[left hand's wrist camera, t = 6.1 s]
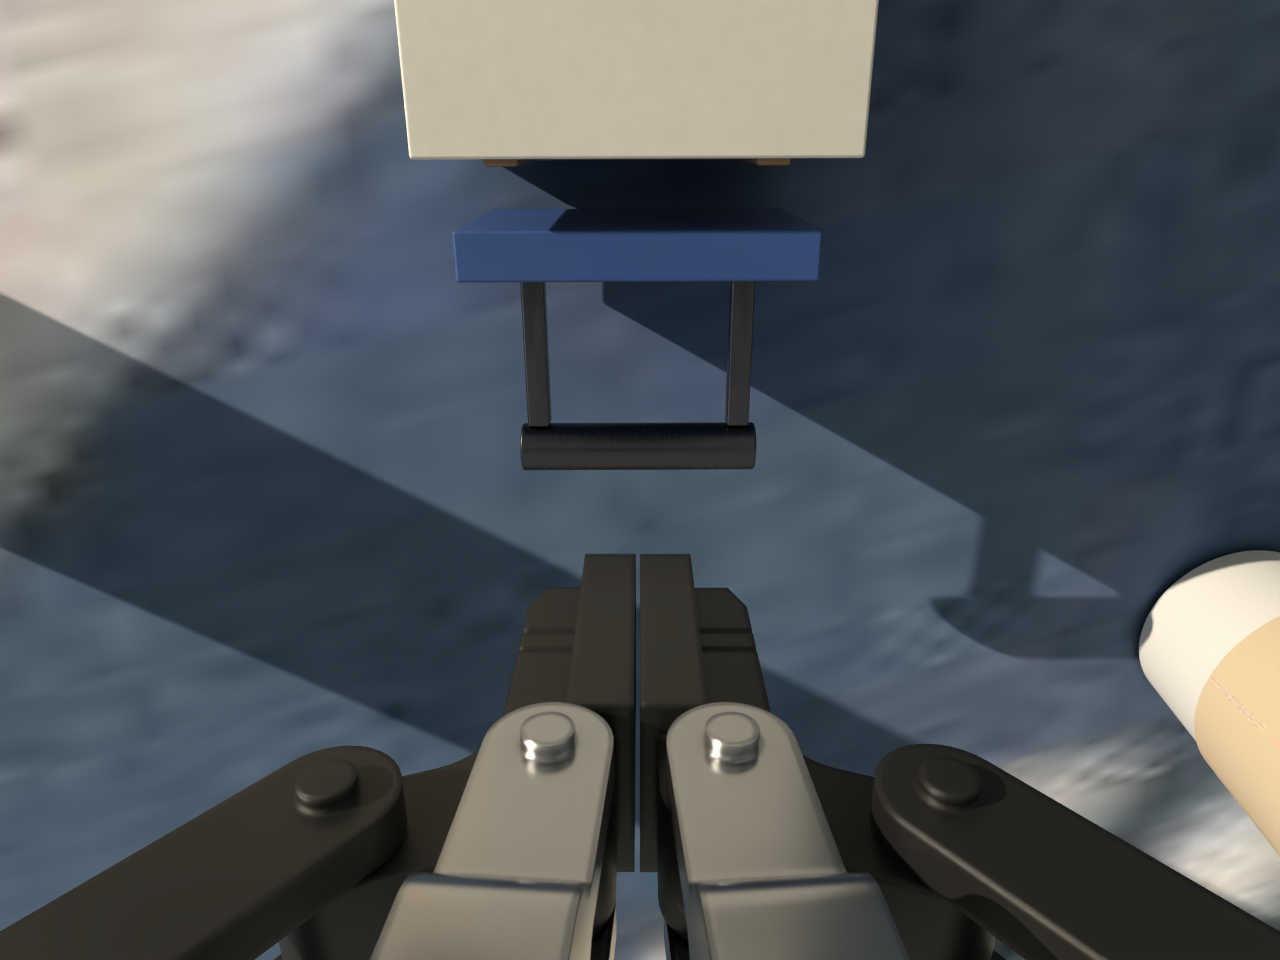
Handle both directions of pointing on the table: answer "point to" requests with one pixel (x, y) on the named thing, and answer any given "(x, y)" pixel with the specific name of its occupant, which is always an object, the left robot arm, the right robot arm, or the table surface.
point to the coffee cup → (1225, 673)
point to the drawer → (637, 253)
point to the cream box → (636, 78)
